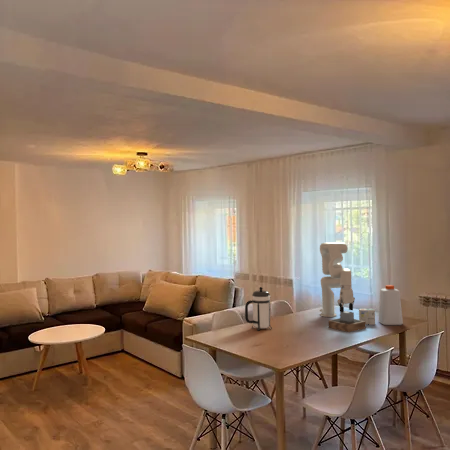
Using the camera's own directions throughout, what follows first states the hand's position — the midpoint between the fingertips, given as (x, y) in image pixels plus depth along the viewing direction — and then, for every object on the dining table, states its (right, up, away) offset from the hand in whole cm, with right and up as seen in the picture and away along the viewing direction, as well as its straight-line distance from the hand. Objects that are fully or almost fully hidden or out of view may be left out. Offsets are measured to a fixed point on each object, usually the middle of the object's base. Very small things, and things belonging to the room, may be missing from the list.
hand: (346, 311), depth 317 cm
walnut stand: (0, -12, 0) cm, 12 cm away
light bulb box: (+19, -12, +12) cm, 25 cm away
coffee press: (-61, -14, +1) cm, 63 cm away
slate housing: (0, -7, -1) cm, 7 cm away
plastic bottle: (+36, -12, +11) cm, 39 cm away
